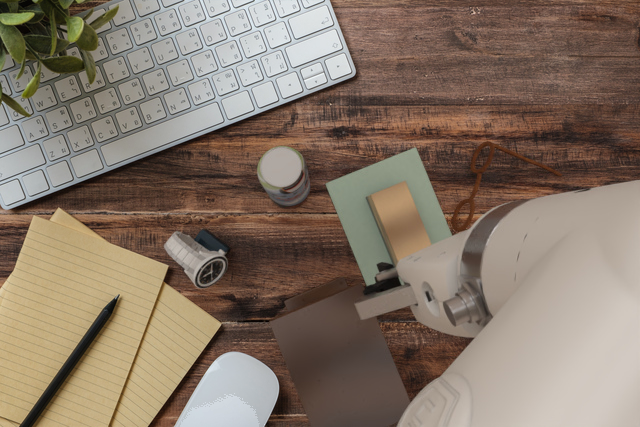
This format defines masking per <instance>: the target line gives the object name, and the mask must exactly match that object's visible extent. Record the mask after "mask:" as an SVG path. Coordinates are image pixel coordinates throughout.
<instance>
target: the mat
mask: <svg viewBox="0 0 640 427" xmlns="http://www.w3.org/2000/svg"><path fill="white" fill-rule="evenodd" d="M419 153H420V152H419V151H418V149H417V146H415V147H413V148H410V149H407V150H405V151H403V152H400V153H397V154H395V155H392V156H390V157H387V158H385V159H383V160H380V161H377V162H375V163H373V164H370V165H367V166H365V167H363V168H360V169H358V170H355V171H353V172H350V173H347V174H346V175H343V176H341V177H338V178H335V179H332V180H330V181H328V182H326V183H324V184H325V187H326V190H327V192H328V195H329V197H330V200H331V202H332V204H333V207H334V209H335V211H336V214H337V217H338V219H339V222H340V224H341V227H342V229H343V232H344V234H345V237H346V239H347V241H348V244H349V246H350V249H351V251H352V253H353V256H354V259H355V260H356V265H357V266H358V268H359V271H360V273H361V276H362V278H363V281H364V283H365V285H366V286H368V285H371V284H375V283H376V282H375V278H374V277H376V276H375V275H376V274H377V273H379V270H378V268H377V264H378V263H381V262H384V263H389V264H392V261H391V259H390V256H389V254H388V252H387V249H386V247H385V244H384V242H383V239H382V237H381V234H380V232H379V230H378V227H377V225H376V222H375V220H374V217H373V215H372V212H371V210H370V208H369V205H368V203H367V200H366V198H365V197H367V196H369V195H371V194H374V193H376V192H379V191H381V190H384V189H386V188H388V187H391V186H393V185H396V184H398V183H401V182H403V181H406V183H407V186H408V188H409V191H410V193H411V196H412V198H413V200H414V203H415V205H416V208H417V210H418V213H419V215H420V217H421V220H422V222H423V225H424V227H425V230H426V232H427V234H428V237H429V239H430V242H431V244H435V243H437V242H439V241H441V240H444V239H446V238H448V237H451V236H453V233H452V232H451V229H450V226H449V224H448V222H447V219H446V217H445V215H444V214H445V213H444V211H443V210H442V207H441V205H440V202H439V200H438V197H437V195H436V192H435V190H434V187H433V185H432V182H431V181H430V180H431V179H430V178H429V175H428V173H427V171H426V168H425V166H424V163H423V161H422V158H421V156H420V154H419ZM398 278H399V280H400V282H401V285H405V284H404V282H403V281H402V279H401V278H400V277H398ZM366 286H365V287H366Z"/></svg>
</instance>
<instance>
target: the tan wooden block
mask: <svg viewBox="0 0 640 427" xmlns="http://www.w3.org/2000/svg"><path fill="white" fill-rule="evenodd" d="M365 198H366V200H367V203H368V205H369V208H370V210H371V212H372V215H373V217H374V220H375V222H376V225H377V227H378V230H379V232H380V234H381V237H382V239H383V242H384V244H385V247H386V249H387V252H388V254H389V256H390V259H391V261H392V264H393V266H394V268H395V267H396V266H397V263H398V262H399V260H400V259H402V258H404V257H406V256H408V255H410V254H413V253H415V252H417V251H419V250H421V249H424V248H426V247H428V246H430V245H432V244H431V242H430V239H429V237H428V234H427V232H426V230H425V227H424V225H423V222H422V220H421V217H420V215H419V213H418V210H417V208H416V205H415V203H414V200H413V198H412V196H411V193H410V191H409V188H408V186H407V183H406V181H403V182H401V183H398V184H396V185H393V186H391V187H388V188H386V189H384V190H381V191H379V192H376V193H374V194H371V195H369V196H367V197H365Z"/></svg>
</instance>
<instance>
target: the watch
mask: <svg viewBox="0 0 640 427" xmlns="http://www.w3.org/2000/svg"><path fill="white" fill-rule="evenodd" d="M163 247H164V248H163V249H164V250H165V251H166V253H167V254H168V256H169V257H171V259H172V260H174V261H175V262H176V263H177V264H178V265H179V266H181V267H182V268H183V269H184V270H183V272H184V273H185V275H186V276H187V277H188V278H189V280H190V281H191V282H192V284H193V285H194V286H195V288H197V289H199V290H203V289H208V288H210V287H212V286H214V285H216V283H218V282H219V281H220V280H221V279H222V278H223V277H224V275H225V274H226V272H227V270H228V266H229V265H228V264H229V263H228V262H229V260H228V258H227V257H226V255H227V254H228V252H229V251H230V250H231V249H232V248H231V247H230V246H229V245H228V244H226V243H225V241H223V240H221V239H220V238H219V237H217V235H215V234H214V233H213V232H211V231H210V230H209V229H207V228H202V229H201V230H200V231H199V232H198V234H196V236H195V237H194V238H193V237H191V236H190V234H188V235H187V234H186V233H183V232H181V231H178V230H176V231H174V232H173V233H172V234H171V236H170V237H169V238H168V239H167V241H166V242H165V243H164V244H163Z"/></svg>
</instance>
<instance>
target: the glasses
mask: <svg viewBox="0 0 640 427" xmlns="http://www.w3.org/2000/svg"><path fill="white" fill-rule="evenodd" d="M486 147H489V154H488V157H487V159H486V161H485V163H484V164H483V165H481V166H482V167H480V168H476V162H477V158H478V157H479V155H480V153H481V151H482V150H483V149H484V148H486ZM495 149H496V150H499V151H501V152H503V153H505V154H507V155H510V156H512V157H514V158H517V159H519V160H521V161H523V162H525V163H529V164H531V165H534V166H536V167H538V168H540V169H544V170H546V171H548V172H550V173H552V174H554V175H555V176H558V177H562V176H563V174H562V173H561V172H560V171H557V170H556V169H554V168H551V167H549V166H547V165H546V164H543V163H541V162H538V161H536V160H534V159H531V158H529V157H526V156H525V155H522V154H520V153H517V152H515V151H513V150H510V149H508V148H506V147H503V146H501V145H499V144H497V143H494V142H492V141H490V140H485V141H483V142H481V144H479V146H478V147H477V148H476V149H475V151H474V153H473V155H472V157H471V161H470V171H471V172H472V173H474V174H476V179H475V182H474V185H473V188H472V192H471V194H470V195H469V197H468V198H465V199H462V200H461V201H459V202H458V204H457V205H456V207H455V209H454V211H453V213H452V218H451V227H452V229H453V230H454V231H456V232H463V231H465V230H468V229H469V228H468V227H469V226H470V224H471V222H472V220H473V218H474V215H475V210H476V203H475V200H474V199H475V197H476V195H477V193H478V190H479V188H480V184H481V181H482V175H483V174H484V172H486V170H487V169H488V168H489V166H490V164H491V163H492V161H493V159H494V156H495V151H496V150H495ZM466 204H469V213H468V216H467V218H466V220H465V222H464V223H463V224H462V225H460V226H458V225H457V218H458V215H459V212H460V210H461V209H462V207H463V206H464V205H466Z"/></svg>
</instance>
